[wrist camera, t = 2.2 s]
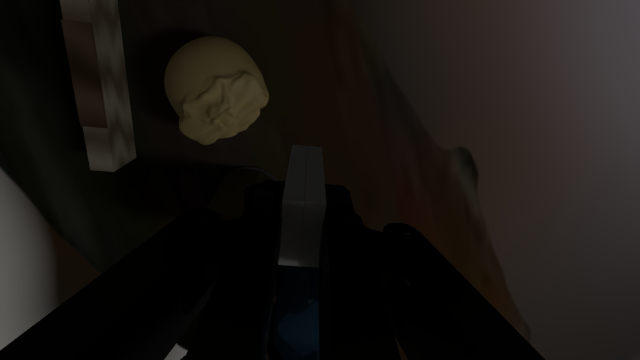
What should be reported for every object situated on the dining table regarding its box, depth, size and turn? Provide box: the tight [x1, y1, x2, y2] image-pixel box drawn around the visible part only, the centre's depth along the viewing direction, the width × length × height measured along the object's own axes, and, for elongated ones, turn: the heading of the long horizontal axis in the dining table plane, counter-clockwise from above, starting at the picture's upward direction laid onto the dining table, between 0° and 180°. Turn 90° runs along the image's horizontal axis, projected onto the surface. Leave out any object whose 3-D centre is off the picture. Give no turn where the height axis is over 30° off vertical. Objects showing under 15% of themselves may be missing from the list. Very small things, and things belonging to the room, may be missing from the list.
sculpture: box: [164, 36, 269, 145], centre depth 40 cm, size 11×12×11 cm
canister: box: [206, 167, 277, 220], centre depth 42 cm, size 11×10×20 cm
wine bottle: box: [272, 262, 320, 360], centre depth 43 cm, size 14×13×30 cm
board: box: [60, 0, 136, 172], centre depth 41 cm, size 24×3×6 cm, turn 174°
